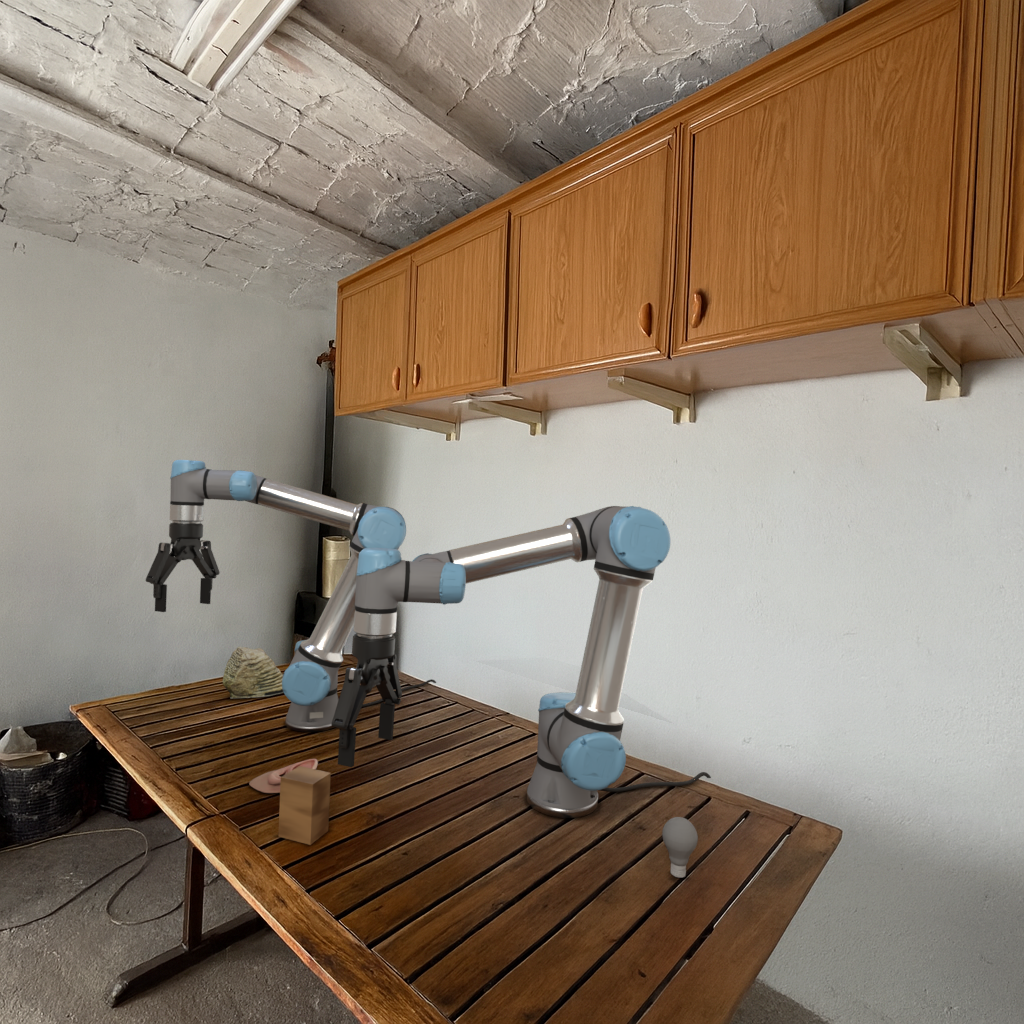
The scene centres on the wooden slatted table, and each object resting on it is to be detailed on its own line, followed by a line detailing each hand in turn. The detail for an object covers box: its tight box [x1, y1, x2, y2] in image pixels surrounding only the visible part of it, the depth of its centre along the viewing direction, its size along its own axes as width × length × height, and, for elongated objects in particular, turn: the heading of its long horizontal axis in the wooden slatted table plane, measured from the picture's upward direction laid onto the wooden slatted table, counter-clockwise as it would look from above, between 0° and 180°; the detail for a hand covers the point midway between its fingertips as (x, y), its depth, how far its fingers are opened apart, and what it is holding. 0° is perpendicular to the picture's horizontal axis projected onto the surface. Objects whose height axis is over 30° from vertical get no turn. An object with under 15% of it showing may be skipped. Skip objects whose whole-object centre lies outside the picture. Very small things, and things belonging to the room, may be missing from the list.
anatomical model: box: [248, 758, 319, 794], centre depth 139 cm, size 13×4×12 cm
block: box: [278, 766, 332, 846], centre depth 119 cm, size 6×7×11 cm
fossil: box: [222, 646, 284, 699], centre depth 198 cm, size 9×18×15 cm, turn 132°
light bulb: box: [661, 816, 699, 879], centre depth 110 cm, size 6×6×10 cm
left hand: (183, 607), depth 158 cm, fingers open, 13 cm apart
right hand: (366, 751), depth 114 cm, fingers open, 13 cm apart
